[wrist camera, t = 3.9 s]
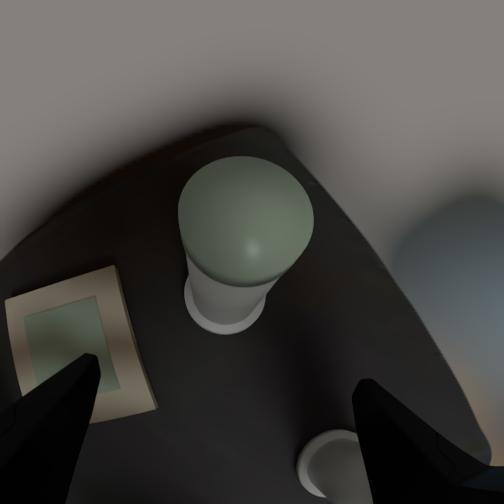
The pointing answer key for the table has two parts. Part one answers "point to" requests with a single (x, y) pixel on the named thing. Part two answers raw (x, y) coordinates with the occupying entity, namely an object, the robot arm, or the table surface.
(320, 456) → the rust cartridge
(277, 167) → the knob
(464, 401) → the table surface
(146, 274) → the table surface
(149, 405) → the pad
